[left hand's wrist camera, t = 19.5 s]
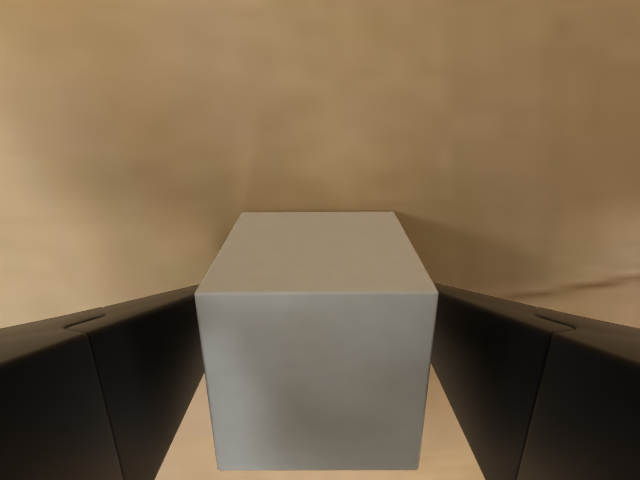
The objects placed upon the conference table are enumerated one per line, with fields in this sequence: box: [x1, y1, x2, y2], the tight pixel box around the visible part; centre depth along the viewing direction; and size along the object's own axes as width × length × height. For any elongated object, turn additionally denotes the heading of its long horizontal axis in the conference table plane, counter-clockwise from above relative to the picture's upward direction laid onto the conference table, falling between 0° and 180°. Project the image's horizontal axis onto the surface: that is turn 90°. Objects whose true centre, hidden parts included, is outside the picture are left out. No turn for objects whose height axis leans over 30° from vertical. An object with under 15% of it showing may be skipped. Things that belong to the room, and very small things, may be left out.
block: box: [194, 211, 439, 471], centre depth 10 cm, size 4×4×5 cm
